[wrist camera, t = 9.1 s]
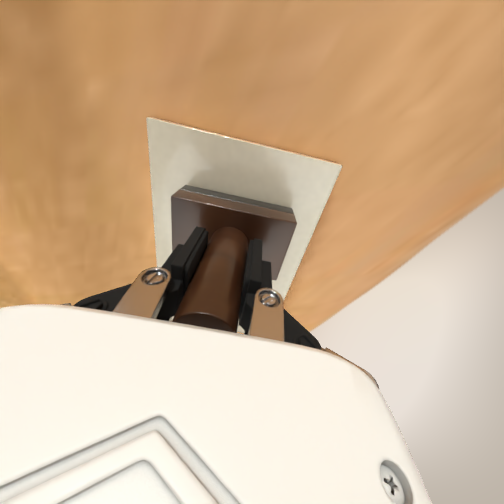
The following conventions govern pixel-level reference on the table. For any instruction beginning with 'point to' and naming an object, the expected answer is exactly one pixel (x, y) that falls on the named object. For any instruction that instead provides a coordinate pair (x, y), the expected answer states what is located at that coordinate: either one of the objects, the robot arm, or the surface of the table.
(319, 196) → the tile
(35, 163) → the table surface
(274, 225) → the handled square plate
